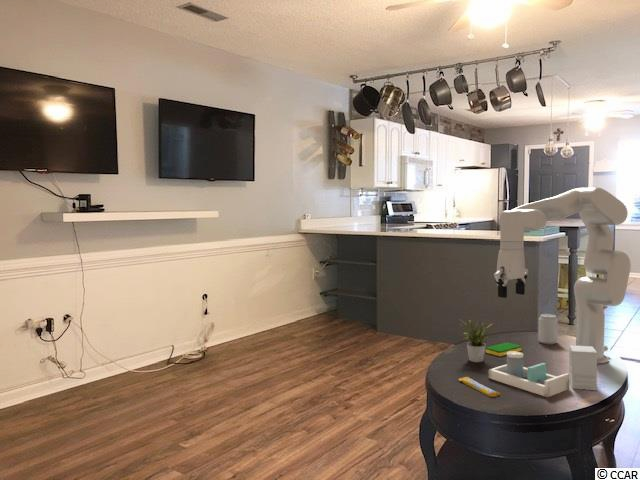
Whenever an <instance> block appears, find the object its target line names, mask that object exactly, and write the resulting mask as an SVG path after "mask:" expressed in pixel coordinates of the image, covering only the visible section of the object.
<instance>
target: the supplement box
mask: <svg viewBox="0 0 640 480" xmlns="http://www.w3.org/2000/svg"><path fill="white" fill-rule="evenodd" d="M568 351H569V353H568V354H569V356H568V357H569V361H568V363H569V367H568V374H569V385H570V386H571V389H573V390H583V389H585V390H584V391H597V387H598V386H597V385H598V384H597V383H598V378H597V377H598V364H597V352H596V351H595V349H594V348H593V347H592V346H576V345H575V344H574V345H571V344H570V345H569V350H568Z"/></svg>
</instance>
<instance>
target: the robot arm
mask: <svg viewBox="0 0 640 480" xmlns="http://www.w3.org/2000/svg"><path fill="white" fill-rule="evenodd" d="M575 214H579V218H580V220H581V222H582V223H583V225H584V226H585V228H586V230H587V235H588V238H587V245H586V250H585V255H584V259H583V268H584V270H585V271H586V272H588V273H591V274H595V275H602V276H606V277H607V278H602V277H594V276H582V277H580V278H578V279H577V280H576V281H575V283H574V285H573V294H574V298H575V304H576V307H575V308H576V322H575V323H576V324H575V330H576V331H575V346H592V347H593V348H594V349H595V351H596V352H597V365H601V364H606V363H608V362H609V357H608V356H606V355H605V352H607V351H608V350H609V347H608V346H606V345H605V322H606V321H605V320H606V316H605V311H604V308H603V306H607V307H609V306H610V307H617V306H620V304H622V303H623V301H624V299H625V296H626V293H627V288H628V282H629V278H630V273H631V259H630V257H629V255H628V254H627V253H625V252H624V251H621V250H613V246H614V242H615V241H614V238H615V237H614V234H613V231H612V230H611V228H610V226H619V225H622V224H624V223H625V221H626V220H627V218H628V215H629V214H628V209H627V206H626V205H625V203H624V202H622V201H621V200H620V199H618V198H617V197H616V196H614V194H612V193H611V192H609V191H607V190H606V189H604V188H601V187H598V186H596V187H595V186H594V187H577V188H572V189H570V190H567V191H565V192H563V193H560V194H558V195H555V196H552V197H548V198H544V199H541V200H538V201H534V202H530V203H525V204H523V205H520V206H517V207H515V208H512V209H511V210H503V211H502V212H501V213H500V224H499V225H500V229H499V230H500V238H499V239H500V240H499V241H500V244H499V245H500V246H499V247H500V248H499V251H498V254H497V255H498V256H497V261H496V262H497V264H496V272H494V274H493V276H494V279H495V283H496V286H497V296H498V298H504V299H507V298H508V286H507V284H508V282H509V281H512V280H515V281H516V282H515V294H517V295H523V296H524V295H525V291H526V290H525V288H526V287H525V285H526V282H527V278H528V273H529V269H528V268H526V261H525V251H524V247H525V246H524V245H525V244H524V242H525V240H524V238H525V232H537V231H541V230H542V229H544V228H545V227H546V225H547V222H553V221H560V220H564V219H565V218H568V217H570V216H572V215H575ZM602 305H603V306H602Z"/></svg>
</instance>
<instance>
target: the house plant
mask: <svg viewBox="0 0 640 480" xmlns="http://www.w3.org/2000/svg"><path fill="white" fill-rule="evenodd" d="M457 320H459V321H461V322H462V323H464V324H462V323H461V326H460V327H461V328H463V329H464V330H465V331H466V332H463V334H462V335H464V337H463V340H468V341H469V342H467V343H466V348H467V355H468V360H469V362H473V363H482V362H483V361H484V357H485V353H486V345H487V344H486V343H485V342H486V341H485V340H486V339H488V338H489V334H484V333H485V332H486V330H488V329H489V327H491V326H492V325H493V324H494V323H491V324H488V326H485V327H484V322H480V323H482V324H481V326H480V328H479V331H478V327H479V324H480V323H479V324H476V327H475V326H474V324H473V322H472V320H471V319H469V320H468V322H469V324H470V327H471V329H470V328H469V326H468V324H467V322H465V321H463V320H462V319H457ZM479 320H480V318H478V320H477V322H476V323H478V322H479ZM462 325H463V326H462ZM465 327H466V328H465ZM486 336H487V337H486Z"/></svg>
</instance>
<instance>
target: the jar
mask: <svg viewBox="0 0 640 480" xmlns="http://www.w3.org/2000/svg"><path fill="white" fill-rule="evenodd" d="M506 364H507V374H510V375H513V376H517V377H520V378H523V379H524V377H523V367H524V353H523V352H521V351H518V352H516V351H509V352H507V355H506Z"/></svg>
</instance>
